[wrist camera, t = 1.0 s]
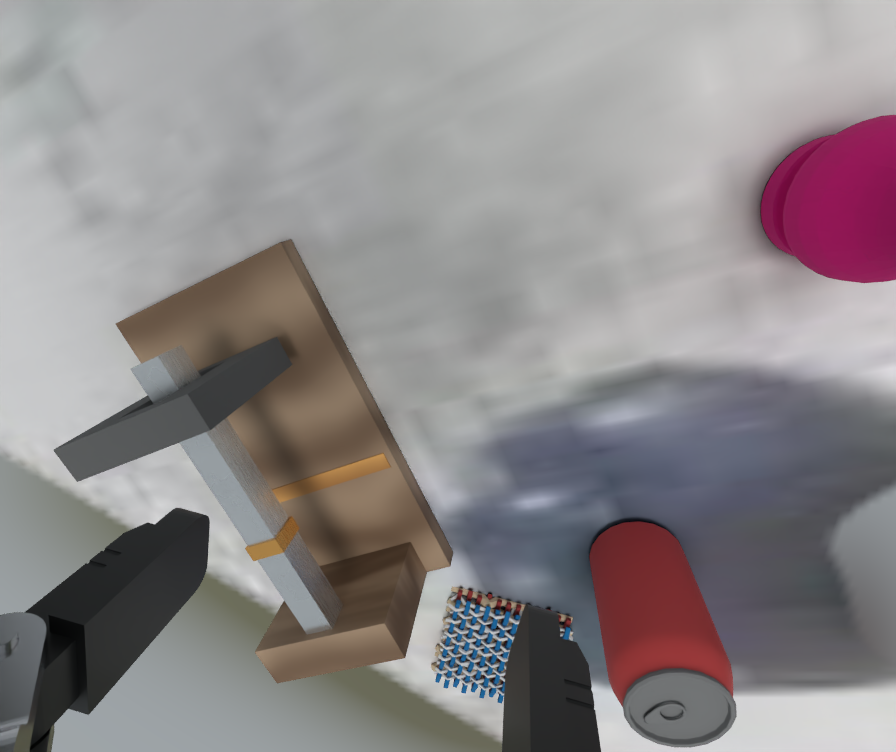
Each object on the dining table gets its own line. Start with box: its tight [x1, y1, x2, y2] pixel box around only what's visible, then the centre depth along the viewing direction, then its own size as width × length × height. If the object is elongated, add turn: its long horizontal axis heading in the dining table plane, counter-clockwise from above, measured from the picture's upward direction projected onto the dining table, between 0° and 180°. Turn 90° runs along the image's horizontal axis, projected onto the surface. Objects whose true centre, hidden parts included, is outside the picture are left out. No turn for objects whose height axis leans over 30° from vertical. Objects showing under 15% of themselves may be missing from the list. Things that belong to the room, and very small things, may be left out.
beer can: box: [589, 521, 736, 747], centre depth 32 cm, size 7×7×12 cm
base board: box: [116, 240, 453, 683], centre depth 34 cm, size 26×14×9 cm, turn 24°
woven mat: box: [431, 587, 573, 703], centre depth 42 cm, size 10×11×2 cm
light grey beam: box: [131, 345, 343, 635], centre depth 31 cm, size 20×2×2 cm, turn 24°
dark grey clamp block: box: [54, 337, 292, 482], centre depth 29 cm, size 2×9×9 cm, turn 114°
